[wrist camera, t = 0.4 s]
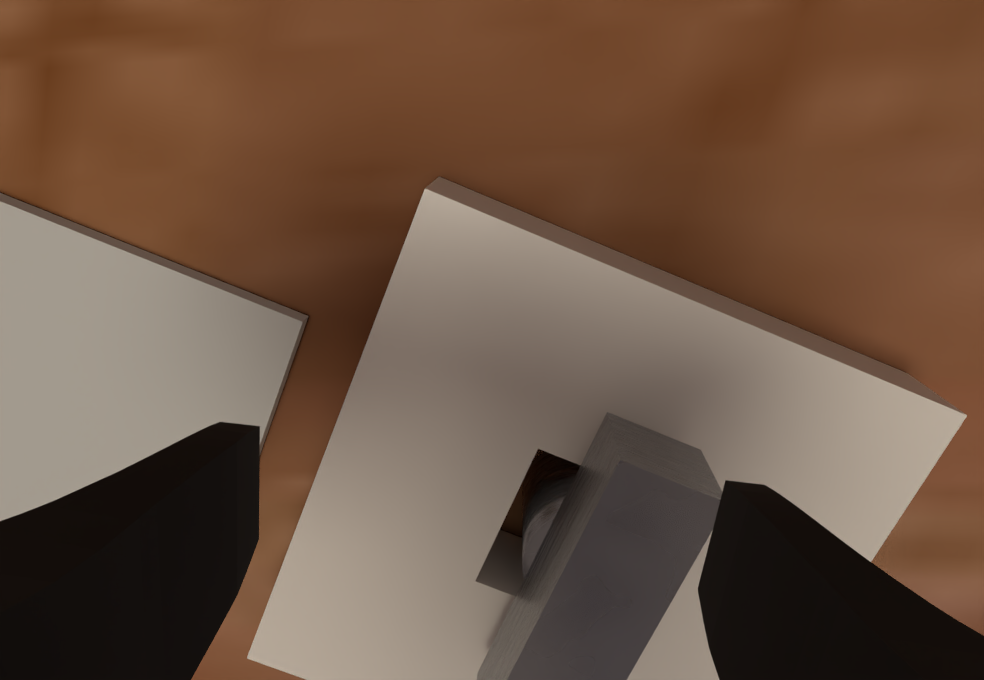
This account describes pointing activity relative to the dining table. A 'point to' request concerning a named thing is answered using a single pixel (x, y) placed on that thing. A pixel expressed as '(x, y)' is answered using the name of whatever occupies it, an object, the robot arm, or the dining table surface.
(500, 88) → the dining table surface
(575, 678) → the t key
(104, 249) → the grey mat
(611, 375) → the key housing
